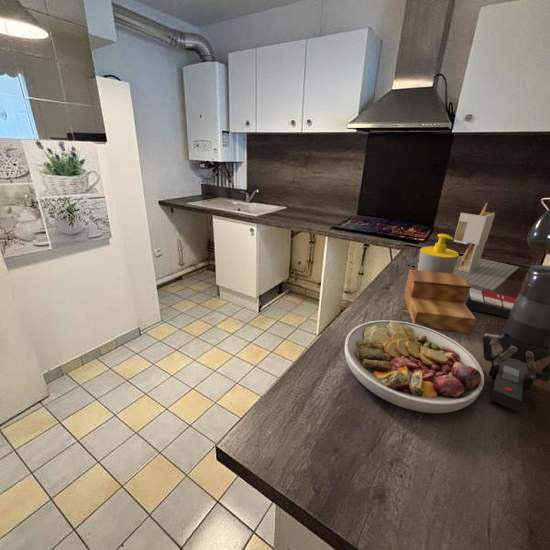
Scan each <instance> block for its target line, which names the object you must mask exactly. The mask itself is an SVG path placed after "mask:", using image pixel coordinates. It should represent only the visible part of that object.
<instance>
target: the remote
mask: <svg viewBox="0 0 550 550" xmlns="http://www.w3.org/2000/svg"><path fill="white" fill-rule="evenodd" d="M525 370H526V364H525V363H524V364H523V363H522V362H517V361H515V360H513V359H512V360H511V359H510V358H508V359H507V360H506V361H504V362H503V363H502V364H500V369H499V371H498V374H497V376H496V378H495V380H493V385H492V388H491V394H490V398H489V400H490V401H492V402H495V403H497V404H499V405H501V406H504V407H506V408H508V409H511V410H513V411H516V412H518V410H519V408H520V405H521V403H522V401H523V392H524V391H523V380H524V376H525Z"/></svg>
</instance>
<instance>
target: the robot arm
mask: <svg viewBox="0 0 550 550" xmlns="http://www.w3.org/2000/svg"><path fill="white" fill-rule="evenodd" d="M526 239H527V244H528V247H529V248H530V249H531V250H533V251H535V252H537V253H540V254H544V255H550V208H549V209H548V210H547V211H546V212H544V213H543V214H542V215H541V216H540V217H539V218H538V219H537V220H536V221H535V222H534V223H533V224H532V225H531V227H530V229H529V231H528V234H527V238H526ZM515 298H516V300H515V302H514V305H513V307H512V309H511V313H510V316H509V318H507V321H506V323H505V327H504V329H503V331H502V332H500V333H499V334H492V333H491V332H489V331H485V332H484V335H483V337H482V345H483V348H482V349H483V359H484V360H485V361H488V362H489V363H491V365H490V368H489V372H488V375H489V377H491V378H490V379H491V380H493V381H494V380H495V378H496V376H497V374H498V371H499V369H500V364H502V363H503V362H504V361H506V360H507V359H512V360H518V361H519V362H520V363H524V364H526V370H527V372H525V373H524V380H523V391H522V392H526V391H530V390H531V388H532V386H533V384H534V383H535V382H534V381H535V380H540V381H542V382H548V381H549V380H550V265H548V264H545V265H544V264H537V265H533V266H531V267H530V268H529V269H528V270H527V272H526V275H525V277H524V280H523V283H522V285H521V288H520V290H519V293H518V295H517V296H516V297H515ZM496 342H498V343H499V345H500V347H501V349H500V350H499V352H498V353H497V354H496V355H495V354H493V347H492V346H493V345H495V344H496ZM545 358H548V364H546V366H544V367H543V368H542V369H541V370H538V369H537V368H536V362H537V361H540V360H543V359H545Z"/></svg>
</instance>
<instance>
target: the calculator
mask: <svg viewBox="0 0 550 550" xmlns="http://www.w3.org/2000/svg"><path fill="white" fill-rule="evenodd" d="M516 298H517V297H514V296H508V295H505V294H500V293H496V292H492V291H487V290H480V289H477V288H472V287H471V288H469V290H468V293H467V296H466V300H465V305H466V306H467V307H468V309H469V310H470V311H471V312H478V313H480V312H483V313H487V314H491V315H495V316H499V317H502V318H506V319H508V318H509V316H510V313H511V309H512V307H513V305H514V302H515V300H516Z"/></svg>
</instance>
